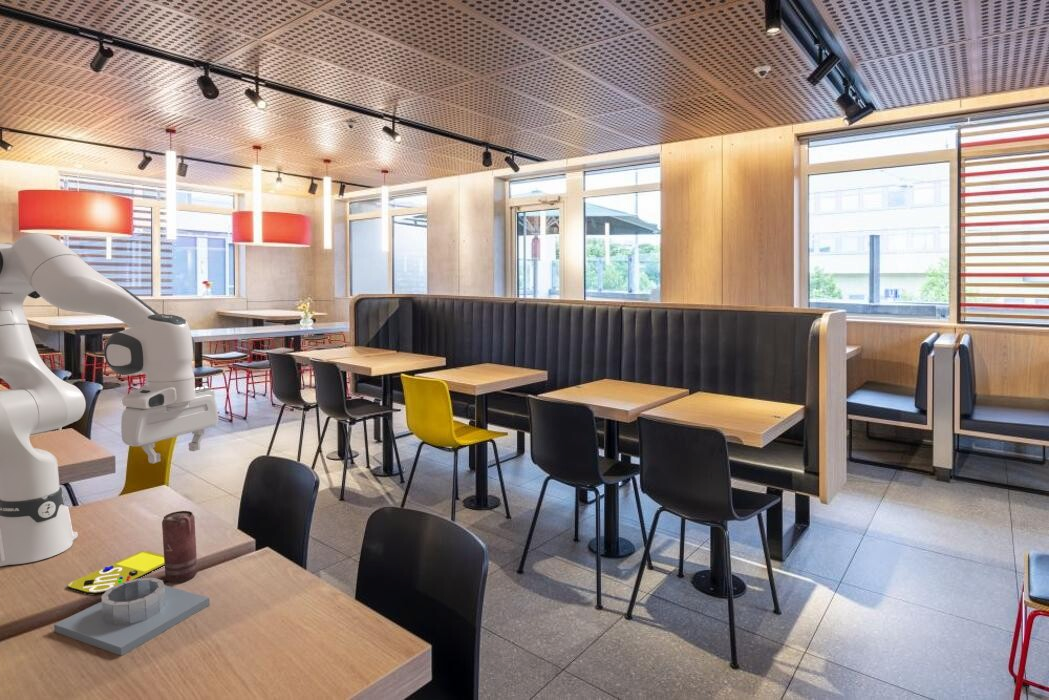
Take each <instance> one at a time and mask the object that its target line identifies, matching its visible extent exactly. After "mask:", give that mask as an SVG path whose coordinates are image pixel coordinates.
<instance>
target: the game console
mask: <svg viewBox="0 0 1049 700" xmlns="http://www.w3.org/2000/svg"><path fill="white" fill-rule="evenodd" d="M163 566H165V564H164V554H160V553H157V552H152V551H147V550H144V551H143V550H142V551H140V552H136V553H134V554H132V555H129V556H127V557H124V558H123V559H121V560H120V559H119V560H118V561H116V562H114V563H111V564H110V565H107V566H105V567H101V568H100V569H97V570H95V571H93V572H91V573H89V574H86V575H84V576H82V577H79V578H77V579H75V580H72V581H71V582H69V583H68V585H67V589H68V590H71V591H74V590H75V591H74V592H77V591H78V593H81V592H82V593H81V594H84V593H86V594H85V595H88V594H94V595H93V596H99V595H103V594H104V593H105V592H106V591H107V590H108V589H109V588H112V587H114V586H116V585H118V584H120V583H123V582H126V581H130V580H134V579H139V578H141V577H142V578H144V577H146V576H148V575H147V574H149V573H151V572H152V571H155V570H157V569H159V568H161V567H163ZM163 568H164V567H163ZM161 569H162V568H161ZM159 570H160V569H159ZM157 571H158V570H157ZM155 572H156V571H155ZM151 574H152V573H151ZM145 575H146V576H145ZM149 575H150V574H149ZM143 576H144V577H143Z"/></svg>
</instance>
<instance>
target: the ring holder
mask: <svg viewBox="0 0 1049 700" xmlns="http://www.w3.org/2000/svg"><path fill="white" fill-rule="evenodd" d="M165 585H166V584H165V583H164V580H162V579H159V578H156V577H142V578H139V579H134V580H130V581H126V582H123V583H120V584H118V585H116V586H114V587H112V588H109V589H108V590H107V591H106V592H105V593H104V594H101V596H100V597H101V601H102V611H103V620H104V623H107V624H110V625H113V626H117V625H130V624H134V623H137V622H141V621H144V620H147V619H149V618H151V617H153V616H155V615H156V614H158V613H160V612H161V611H162V609H163V608H164V607H165V606H166V599H165Z"/></svg>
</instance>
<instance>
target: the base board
mask: <svg viewBox="0 0 1049 700" xmlns="http://www.w3.org/2000/svg"><path fill="white" fill-rule="evenodd" d="M164 585H165V599H166V606H165V607H164V608H163V609H162V611H161V612H160V613H158V614H156V615H155V616H153V617H151V618H149V619H147V620H144V621H141V622H137V623H134V624H130V625H117V626H113V625H110V624H107V623H104V620H103V611H102V600H101V601H100V602H97V603H95V604H93V605H92V606H91V605H90V606H89V607H87V608H84V610H80V611H79V612H77V613H75V614H72V615H71V616H69V617H66V618H64V619H62V620H60V621H59V622H56V623H54V624H53V628H54V629H53V630H54V633H57V634H59V635H62V636H65V637H68V638H70V639H73V640H75V641H79V642H82V643H85V644H88V645H90V646H93V647H95V648H99V649H101V650H104V651H107V652H109V653H113V654H116V655H118V656H121V657H122V656H124V655H126V654H127V653H129V652H131V651H133V650H134V649H136V648H138V647H139V646H141V645H143V644H144V643H146V642H148V641H150V640H152V639H153V638H155V637H157V636H159V635H160V634H162V633H164V632H165V631H167V630H169V629H171V628H172V627H174V626H176V625H177V624H179V623H181V622H182V621H185V620H186V619H188V618H190V617H191V616H193V615H194V614H196V613H198V612H199V611H200V612H201V610H203V609H205V608H207V607H209V606H210V604H211V603H210V597H207V596H204V595H200V594H197V593H193V592H190V591H186V590H183V589H179V588H176V587H173V586H170V585H169V586H168V585H166V584H164Z"/></svg>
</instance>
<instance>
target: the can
mask: <svg viewBox="0 0 1049 700" xmlns="http://www.w3.org/2000/svg"><path fill="white" fill-rule="evenodd" d="M161 529H162V530H161V531H162V546H163V555H164V564H165V567H164V577H165V580H167V582H169V583H171V584H177V583H185V582H188V581H191V580H192V579H194V578H195V576H196V575H197V573H198V560H197V559H198V557H197V555H198V554H197V540H196V539H197V538H196V537H197V536H196V521H195V515H194V514H193V512H192V511H190V510H180V511H174V512H171V513H167V514H166V515H165V516H163V520H162V521H161Z"/></svg>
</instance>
